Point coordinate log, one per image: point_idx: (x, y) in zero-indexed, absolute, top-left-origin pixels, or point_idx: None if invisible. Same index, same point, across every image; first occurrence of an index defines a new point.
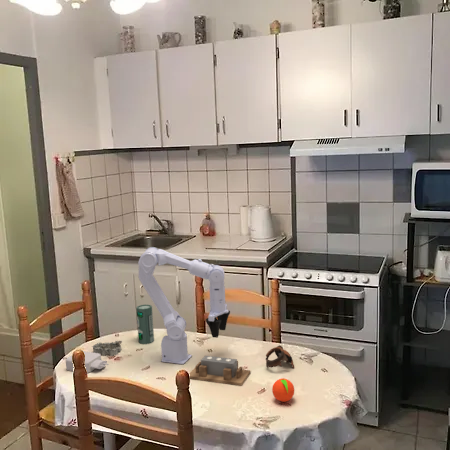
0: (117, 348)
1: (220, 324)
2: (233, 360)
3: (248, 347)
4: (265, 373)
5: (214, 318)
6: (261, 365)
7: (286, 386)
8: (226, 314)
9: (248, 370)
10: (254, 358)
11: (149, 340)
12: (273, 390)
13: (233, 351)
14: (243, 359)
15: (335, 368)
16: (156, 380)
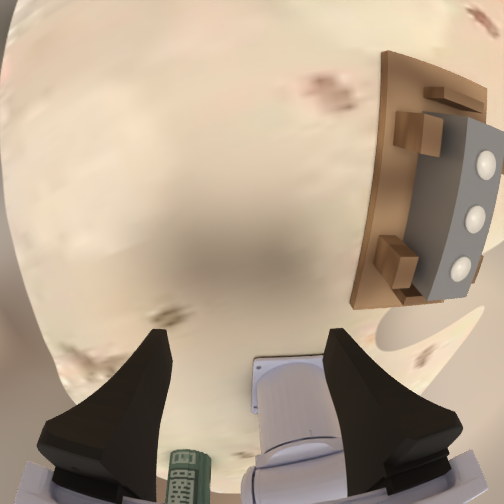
0: None
1: (161, 392)
2: (481, 135)
3: (68, 158)
4: None
5: (422, 482)
6: (277, 11)
7: None
8: (116, 452)
9: (390, 60)
10: (192, 67)
11: (198, 458)
12: None
13: (137, 213)
14: (222, 121)
15: None
16: (434, 359)
